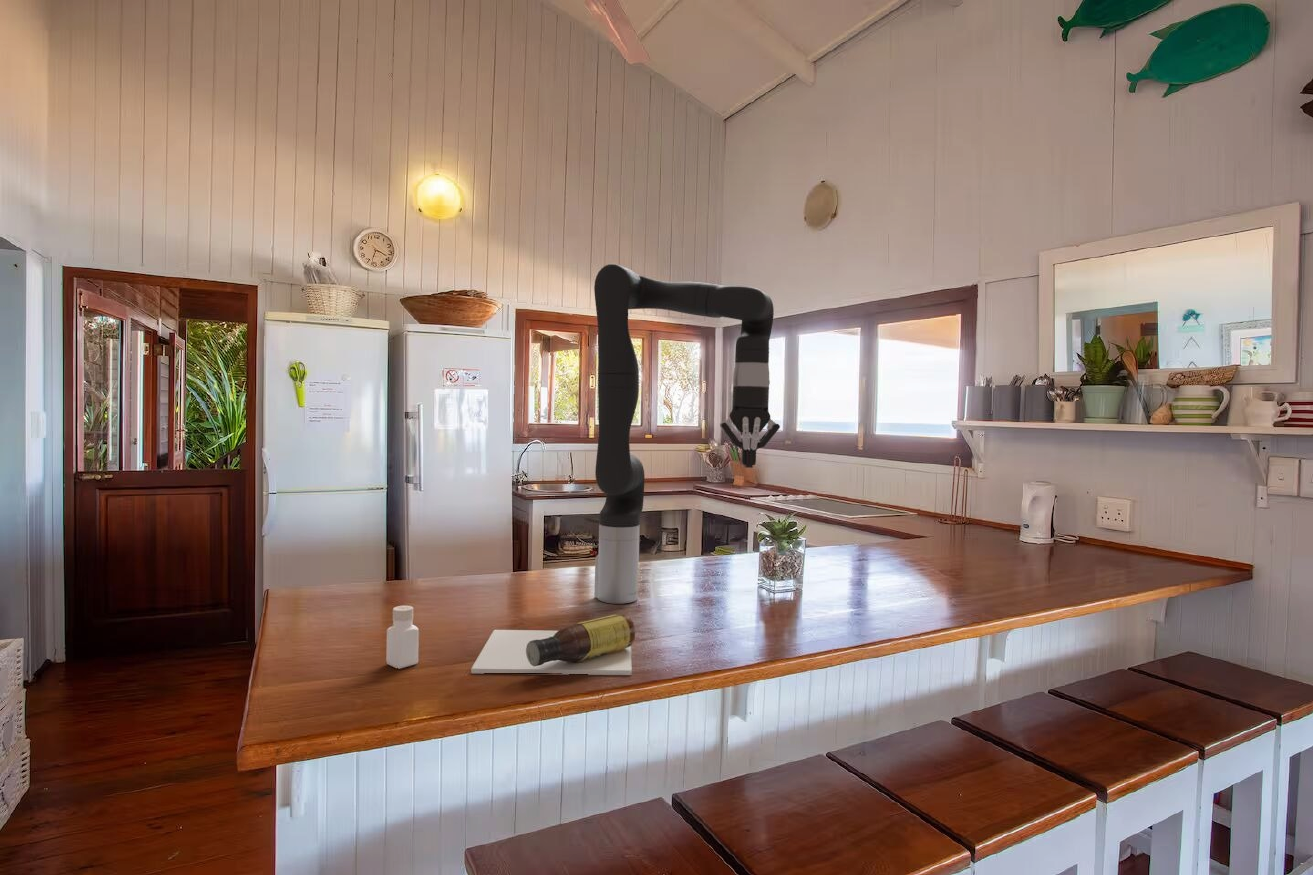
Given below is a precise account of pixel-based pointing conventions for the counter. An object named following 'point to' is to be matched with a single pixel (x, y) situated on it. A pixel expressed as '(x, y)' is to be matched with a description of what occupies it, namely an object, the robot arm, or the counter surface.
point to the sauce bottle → (583, 640)
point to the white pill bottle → (402, 639)
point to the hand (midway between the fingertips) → (748, 467)
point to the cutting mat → (510, 657)
